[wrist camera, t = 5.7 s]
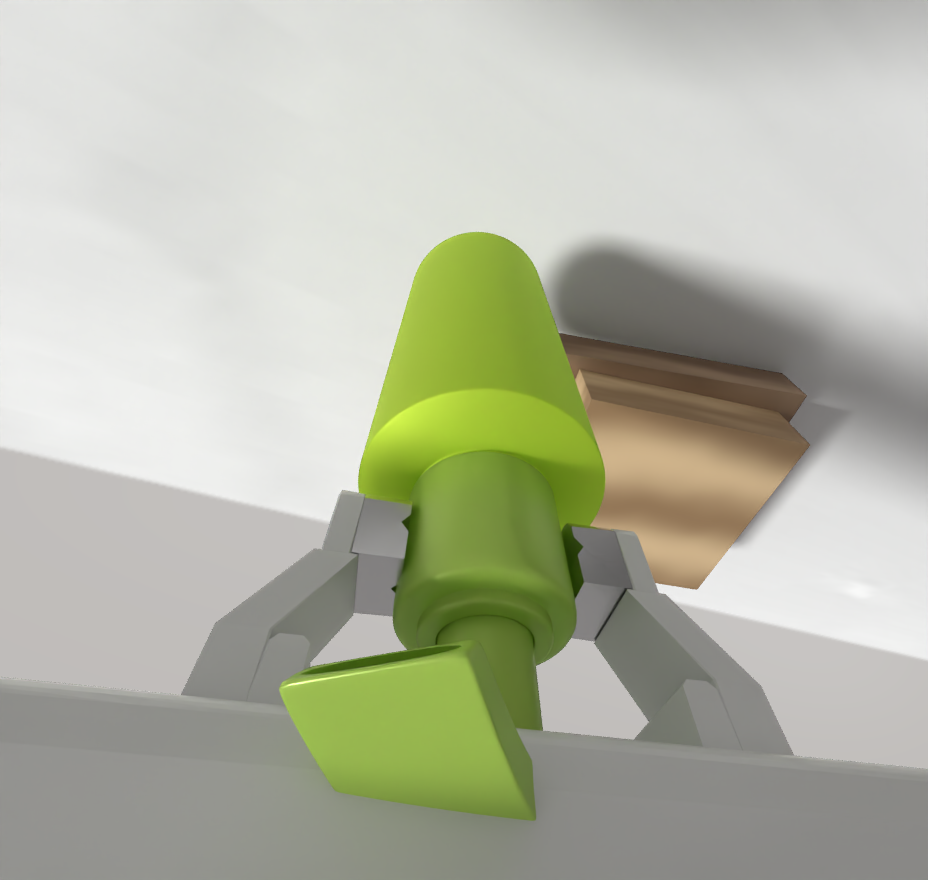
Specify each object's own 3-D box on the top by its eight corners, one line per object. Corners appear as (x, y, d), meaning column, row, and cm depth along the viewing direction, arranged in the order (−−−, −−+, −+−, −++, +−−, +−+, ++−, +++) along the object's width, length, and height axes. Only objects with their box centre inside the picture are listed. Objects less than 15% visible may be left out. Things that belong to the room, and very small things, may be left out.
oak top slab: (579, 368, 29) (591, 399, 26) (778, 411, 30) (810, 444, 28) (516, 523, 36) (520, 560, 33) (679, 552, 38) (696, 589, 35)
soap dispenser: (518, 185, 20) (745, 677, 3) (553, 339, 23) (736, 914, 7) (382, 231, 21) (61, 772, 4) (436, 371, 25) (370, 933, 8)
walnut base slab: (543, 327, 31) (551, 350, 28) (777, 369, 33) (807, 395, 30) (490, 509, 40) (492, 541, 37) (675, 536, 42) (690, 568, 39)
